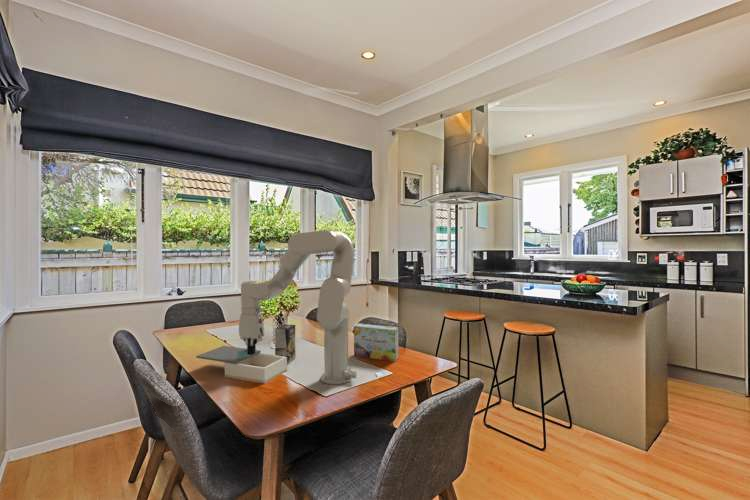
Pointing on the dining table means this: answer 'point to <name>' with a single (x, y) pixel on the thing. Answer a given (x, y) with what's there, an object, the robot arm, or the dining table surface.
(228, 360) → the lid
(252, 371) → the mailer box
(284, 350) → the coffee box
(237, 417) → the dining table surface
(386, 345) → the snack box
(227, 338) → the dining table surface
